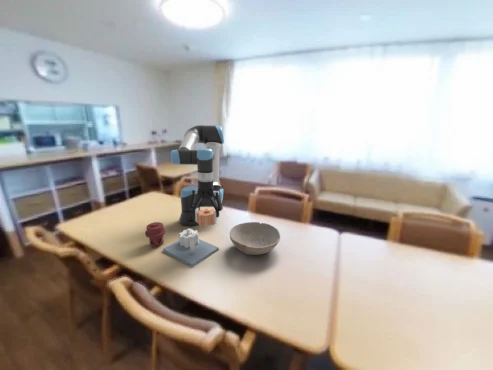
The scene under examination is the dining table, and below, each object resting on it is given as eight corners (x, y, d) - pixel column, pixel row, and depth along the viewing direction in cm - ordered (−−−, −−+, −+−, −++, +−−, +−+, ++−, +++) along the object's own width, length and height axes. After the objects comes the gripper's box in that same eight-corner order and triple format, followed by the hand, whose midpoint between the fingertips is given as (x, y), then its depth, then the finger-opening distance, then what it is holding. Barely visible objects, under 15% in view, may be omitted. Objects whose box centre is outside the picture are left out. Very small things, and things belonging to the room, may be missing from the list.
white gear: (187, 236, 133) (187, 227, 131) (202, 240, 129) (201, 231, 127) (176, 244, 124) (175, 235, 123) (191, 249, 120) (190, 239, 119)
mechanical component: (170, 241, 131) (160, 250, 121) (153, 238, 133) (142, 248, 123) (168, 220, 127) (158, 229, 118) (151, 218, 129) (140, 226, 120)
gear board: (189, 237, 135) (188, 222, 133) (218, 250, 123) (218, 233, 121) (162, 251, 121) (161, 234, 118) (192, 267, 109) (191, 249, 106)
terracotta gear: (201, 217, 129) (201, 208, 127) (218, 219, 127) (218, 209, 125) (194, 224, 120) (193, 214, 118) (212, 227, 118) (211, 216, 116)
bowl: (285, 243, 131) (286, 227, 128) (269, 270, 108) (270, 251, 105) (243, 233, 141) (243, 217, 138) (219, 256, 118) (219, 238, 115)
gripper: (181, 180, 116) (183, 222, 122) (224, 183, 111) (224, 227, 117) (188, 176, 123) (189, 216, 129) (229, 179, 118) (229, 221, 124)
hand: (206, 221), depth 123 cm, fingers closed on terracotta gear, 10 cm apart
